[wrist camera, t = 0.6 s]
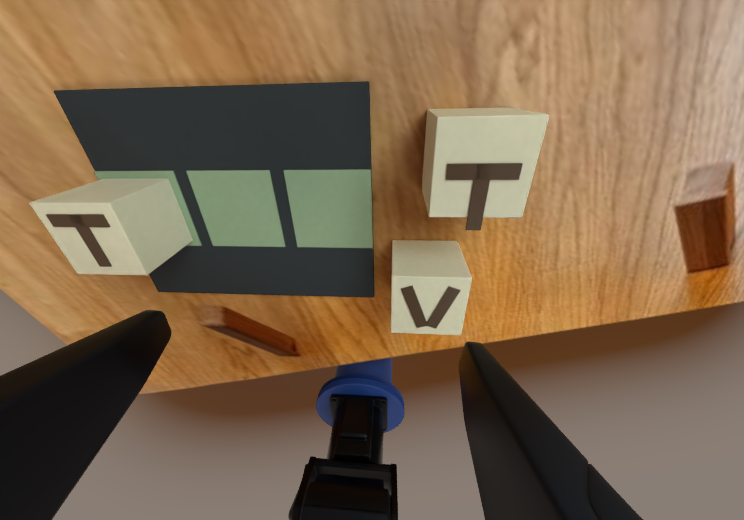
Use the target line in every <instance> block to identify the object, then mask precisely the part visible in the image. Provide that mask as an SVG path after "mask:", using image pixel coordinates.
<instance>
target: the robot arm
mask: <svg viewBox="0 0 744 520" xmlns="http://www.w3.org/2000/svg"><path fill="white" fill-rule="evenodd" d="M170 337H171V329H170V326H169V324H168V321H167V319H166V317H165V314H164V313H163V312H162V311H155V310H146V311H143V312H141V313H139V314H136V315H134V316H132V317H130V318H127V319H125V320H123V321H121V322H119V323H116V324H114V325H112V326H110V327H108V328H105V329H103V330H101V331H99V332H96V333H94V334H92V335H90V336H88V337H85V338H83V339H81V340H79V341H77V342H74V343H72V344H70V345H68V346H65V347H63V348H61V349H59V350H57V351H54V352H52V353H50V354H48V355H46V356H43V357H41V358H39V359H37V360H35V361H33V362H30V363H28V364H26V365H24V366H21V367H19V368H17V369H15V370H12V371H10V372H8V373H6V374H4V375H1V376H0V520H52V519H53V517H54V516H55V514H56V513H57V511H58V510H59V508H60V507H61V506H62V504H63V503H64V501H65V500H66V498H67V497H68V495H69V494H70V492H71V491H72V490H73V488H74V487H75V485H76V484H77V482H78V481H79V479H80V478H81V476H82V475H83V474H84V472H85V471H86V469H87V468H88V466H89V465H90V463H91V462H92V460H93V459H94V457H95V456H96V454H97V453H98V452H99V450H100V449H101V447H102V446H103V444H104V443H105V442H106V440H107V439H108V437H109V436H110V434H111V433H112V431H113V430H114V428H115V427H116V426H117V424H118V423H119V421H120V420H121V418H122V417H123V415H124V414H125V412H126V411H127V410H128V408H129V407H130V405H131V404H132V402H133V401H134V399H135V398H136V396H137V395H138V394H139V392H140V390H141V389H142V387H143V386H144V384H145V382H146V381H147V379H148V377H149V376H150V374H151V372H152V370H153V368H154V367H155V365H156V363H157V361H158V359H159V358H160V356H161V354H162V352H163V351H164V349H165V347H166V345H167V343H168V342H169V340H170ZM459 374H460V384H461V394H462V403H463V412H464V421H465V426H466V431H467V436H468V441H469V445H470V450H471V455H472V459H473V464H474V468H475V474H476V478H477V483H478V488H479V492H480V497H481V502H482V507H483V511H484V516H485V520H643V519H642V518H641V517H640V516H639V515H638V514H637V513H636V512H635V511H634V510H633V509H632V508H631V507H630V506H629V505H628V504H627V503H626V502H625V500H624V499H623V498H622V497H621V496H620V495H619V494H618V493H617V492H616V491H615V490H614V489H613V488H612V487H611V486H610V485H609V483H608V482H607V481H606V480H605V479H604V478H603V477H602V476H601V475H600V474H599V472H598V471H597V470H596V469H595V468H594V467H593V466H592V465H591V464H588V461H587V459H586V458H585V457H584V456H583V455H582V454H581V453H580V452H579V450H578V449H577V448H576V447H575V446H574V445H573V444H572V443H571V442H570V441H569V439H567V437H566V436H565V435H564V434H563V433H562V432H561V431H560V430H559V429H558V427H557V426H556V425H555V424H554V423H553V422H552V421H551V420H550V418H549V417H548V416H547V415H546V414H545V413H544V412H543V411H542V410H541V409H540V407H539V406H538V405H537V404H536V403H535V402H534V401H533V400H532V399H531V398H530V396H529V395H528V394H527V393H526V392H525V391H524V390H523V389H522V388H521V387H520V385H519V384H517V382H516V381H515V380H514V379H513V378H512V377H511V376H510V375H509V373H508V372H507V371H506V370H505V369H504V368H503V367H502V366H501V365H500V363H499V362H498V361H497V360H496V359H495V358H494V357H493V356H492V355H491V354H490V352H489V351H488V350H487V349H486V348H485V347H484V346H483V345H482V344H481V343H477V342H466V343H465V345H464V348H463V351H462V354H461V357H460V360H459ZM330 404H331V410H332V416H333V427H332V433H331V438H330V444H329V449H328V454H327V459H321V458H316V457H310V460H309V463H308V464H306V465H305V469H304V474H303V478H302V481H301V484H300V487H299V490H298V492H297V494H296V497H295V499H294V502H293V504H292V507H291V509H290V512H289V520H398V502H397V470H396V469H397V467H396V464H391V465H386V464H382V456H383V455H382V454H383V432H384V431H387V411H388V399H387V398H386V397H383V396H364V395H345V394H332V395H331V396H330Z"/></svg>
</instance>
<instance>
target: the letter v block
mask: <svg viewBox="0 0 744 520" xmlns="http://www.w3.org/2000/svg"><path fill="white" fill-rule="evenodd" d="M471 281H472V277H471V274H470V272H469V269H468V267H467V264H466V262H465V259H464V257H463V254H462V252H461V249H460V247H459V244H458V242H457V241H428V240H392V276H391V333H414V334H442V335H461V332H462V327H463V322H464V317H465V311H466V306H467V301H468V296H469V291H470V286H471Z"/></svg>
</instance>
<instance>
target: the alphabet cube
mask: <svg viewBox="0 0 744 520" xmlns="http://www.w3.org/2000/svg"><path fill="white" fill-rule="evenodd" d="M30 205H31V206H32V208H33V209H34V211H35V212H36V214H37V215H38V217H39V218H40V219H41V221H42V222H43V224H44V225H45V227H46V228H47V230H48V231H49V233H50V234H51V236H52V237H53V239H54V240H55V241H56V243H57V244H58V246H59V247H60V249H61V250H62V252H63V253H64V255H65V256H66V258H67V259H68V261H69V262H70V263H71V265H72V266H73V268H74V269H75V271H76V272H77V274H111V275H148V274H150V273H151V272H152V271H153V270H155V269H156V268H157V267H159V266H160V265H161V264H163V263H164V262H165V261H167V260H168V259H169V258H170V257H172V256H173V255H174V254H176V253H177V252H178V251H180V250H181V249H182V248H183V247H185V246H186V245H187V244H189V243H190V242H191V241H193V239H192V237H191V234H190V232H189V229H188V226H187V224H186V221H185V219H184V216H183V214H182V211H181V209H180V206H179V204H178V201H177V199H176V196H175V194H174V191H173V189H172V186H171V184H170V181H169V179H168V178H136V179H101V180H98V181H95V182H92V183H89V184H86V185H82V186H79V187H76V188H73V189H70V190H67V191H64V192H61V193H58V194H54V195H51V196H48V197H45V198H42V199H39V200H36V201H33V202H30Z"/></svg>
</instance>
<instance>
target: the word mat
mask: <svg viewBox="0 0 744 520" xmlns="http://www.w3.org/2000/svg"><path fill="white" fill-rule="evenodd" d="M54 93H55V95H56V97H57V99H58V101H59V103H60V105H61V107H62V108H63V110H64V112H65V114H66V116H67V118H68V120H69V122H70V124H71V126H72V128H73V129H74V131H75V133H76V135H77V137H78V139H79V141H80V143H81V145H82V147H83V149H84V150H85V152H86V154H87V156H88V158H89V160H90V162H91V164H92V166H93V168H94V170H95V171H94V173H95V175H96V177H97V179H98V180H101V179H136V178H168V179H169V181H170V184H171V186H172V189H173V191H174V194H175V196H176V199H177V201H178V204H179V206H180V209H181V211H182V214H183V216H184V219H185V221H186V224H187V226H188V229H189V232H190V234H191V237H192V239H193V241H191V242H190V243H189V244H187V245H186V246H185V247H183V248H182V249H181V250H180V251H178V252H177V253H176V254H174V255H173V256H172V257H170V258H169V259H168V260H167V261H165V262H164V263H163V264H161V265H160V266H159V267H157V268H156V269H155V270H153V271H152V272H151V273H150V274H149V275H150V277H151V279H152V280H153V282H154V284H155V286H156V288H157V290H158V292H186V293H224V294H262V295H301V296H339V297H374V258H373V217H372V177H371V136H370V95H369V82H336V83H301V84H267V85H232V86H197V87H163V88H128V89H93V90H59V91H54Z"/></svg>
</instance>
